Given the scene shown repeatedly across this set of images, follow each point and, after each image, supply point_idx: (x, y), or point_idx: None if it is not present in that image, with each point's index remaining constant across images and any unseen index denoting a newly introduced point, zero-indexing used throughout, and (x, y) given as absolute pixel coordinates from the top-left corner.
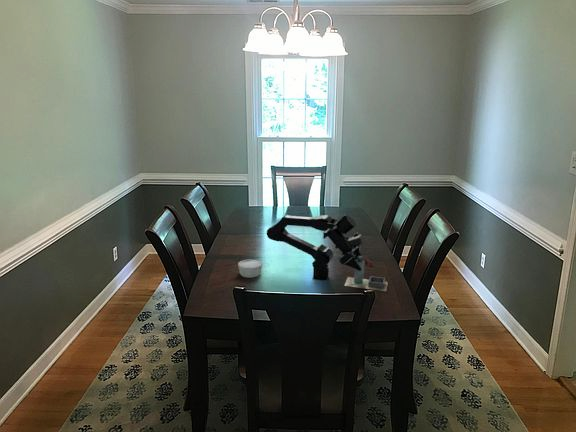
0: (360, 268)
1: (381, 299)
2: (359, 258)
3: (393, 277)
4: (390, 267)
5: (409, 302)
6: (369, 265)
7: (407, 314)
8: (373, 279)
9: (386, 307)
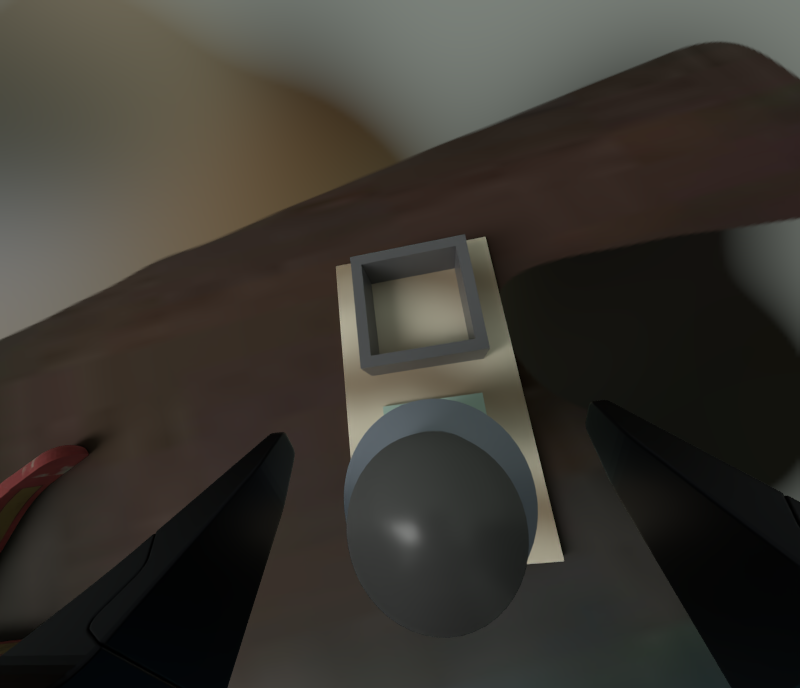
0: (631, 416)
1: (618, 231)
2: (523, 522)
3: (242, 263)
4: (94, 320)
5: (555, 102)
6: (81, 459)
7: (723, 66)
8: (374, 343)
9: (719, 174)
